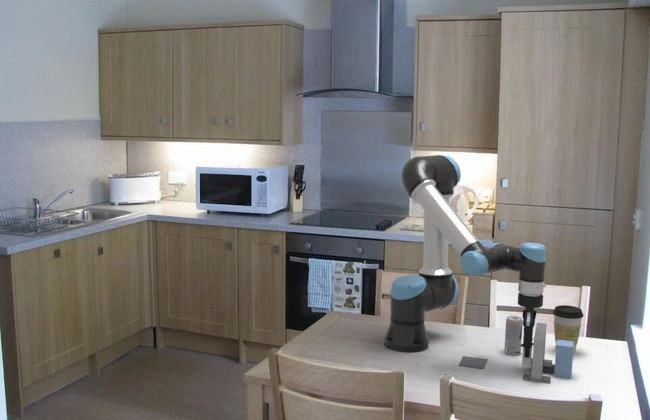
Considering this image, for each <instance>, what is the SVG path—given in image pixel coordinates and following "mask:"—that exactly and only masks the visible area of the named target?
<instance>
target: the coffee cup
mask: <svg viewBox="0 0 650 420" xmlns="http://www.w3.org/2000/svg"><path fill="white" fill-rule="evenodd" d="M552 314H553V319H554V320H553V328H554V329H553V330H554V342H555V344H556V343H557V340H564V341H572V342H574V347H573V355H575V354H576V350H577V349H576V348H577V345H578V342H579V337H580V331H581V326H582V319H583V318H584V313H583V311H582V309H581V308H580V307H578V306H574V305H567V304H566V305H565V304H564V305H557V306H555V307H554V309H553V310H552Z"/></svg>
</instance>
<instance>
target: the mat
mask: <svg viewBox="0 0 650 420" xmlns="http://www.w3.org/2000/svg"><path fill="white" fill-rule="evenodd" d="M488 360H489V359H488V358H483V357H473V356H467V355H463V356H462V357H461V360H460V361H459V364H458V367H464V368H472V369H479V370H485V368H486V365H487V362H488Z"/></svg>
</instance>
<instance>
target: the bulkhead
mask: <svg viewBox="0 0 650 420" xmlns="http://www.w3.org/2000/svg"><path fill="white" fill-rule="evenodd" d="M535 325H536V326H535V332H534V336H533V343H534V344H533V345H532V357H531V363H532V371H531V373H523V374H522V380H523V381H530V382H537V383H543V384H551V381H552V376H549V375H547V376H546V375H543V374H544V373H543V363H547V364H553V360H552V359H547V358H546V357H545V354H546V339H547V323H546V322H545V323H543V322H536V324H535ZM545 358H546V359H545Z"/></svg>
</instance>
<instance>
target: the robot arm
mask: <svg viewBox="0 0 650 420" xmlns="http://www.w3.org/2000/svg"><path fill="white" fill-rule="evenodd" d="M461 173H462V172H461V169H460V166H459V164H458V162H457V161H456V160H455V159H454V158H453V157H451V156H449V155H443V154H442V155H441V154H436V155H424V156H423V155H422V156H421V155H419V156H414V157H411V158H410V159H409V160H407V162H406V163H405V164H404V165H403V167H402V170H401V174H400V175H401V178H400V179H401V184H402V186H403V189H404V190H405V192H406V194H407V195H408V196H409V198H410V199H411V200H412V201H414V202H417V203H418V204H419V206H421V208H422V209H423V260H422V261H423V263H422V264H423V265H422V267H421V268H420V269H419V270H418V275H417V274H410V275H403V276H399V277H397V278H395V279H394V280H393V281H392V283H391V289H390V316H389V317H390V321H389V325H388V328H387V331H386V334H385V336H384V346H385V347H386V348H388V349H391V350H394V351H397V352H404V353H415V352H422V351H425V350H427V349H428V348H429V346H430V345H429V343H430V341H429V340H430V339H429V335H428V332H427V328H426V325H425V318H426V317H425V313H427V312H431V311H436V310H442V309H445V308H447V307H449V306H451V305H453V304H454V303H455V301H456V300H457V299H458V296H459V291H460V289H459V287H460V286H459V283H458V281H457V280H456V277H454V275H453V271H452V269H450V268H449V267H450V266H449V243H450V245H451V246H452V247H453V249H454V250H455V252H456V253H457V254H458V255H459V256H460V262H459V263H460V265H461V270H462V272H463V273H465V275H467V276H473V277H474V276H482V275H485V274H489V273H493V272H499V271H503V270H508V271H513V272H517V273H518V285H517V286H518V287H517V288H518V289H517V291H518V293H517V305H518V306H520V307H523V308H525V309H522V310H523V311H522V321H523V324H522V327H523V335H522V336H523V337H522V338H523V339H522V340H523V341H522V343H521V348H522V352H521V353H522V355H521V367H525V368H531V358H532V357H533V344H534V342H533V341H534V336H533V334H534V327H535V325H536V324H535V323H536V318H537V310H535V309H540V308H542V307H543V305H544V295H543V294H544V288H546V287H547V284H546V283H545V271H546V270H545V269H546V261H547V257H546V256H547V255H546V254H547V253H546V252H547V251H546V250H547V249H546V246H545V245H543V244H542V243H537V242H536V243H535V242H523V243H522V244H521V245H520V247H517V246H513V245H508V244H504V243H495V242H494V243H491V244H490V245H489V246H487V247H485V246H484V245H483V244H482V243H481V242H480V240H479V239H478V238H477V236H476V235H475V234H474V233H473V232H472V230H471V229H470V228H469V226H468V225H467V224H466V223H465V222H464V220H463V219H462V218H461V216H460V215H459V214H458V213H457V212H456V210H455V209H454V208H453V207H452V205H451V204H450V199H451V198H452V197H453V196H454V193H455V192H454V189H455V187H457V186H458V184H459V183H460V181H461V176H462V175H461Z"/></svg>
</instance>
